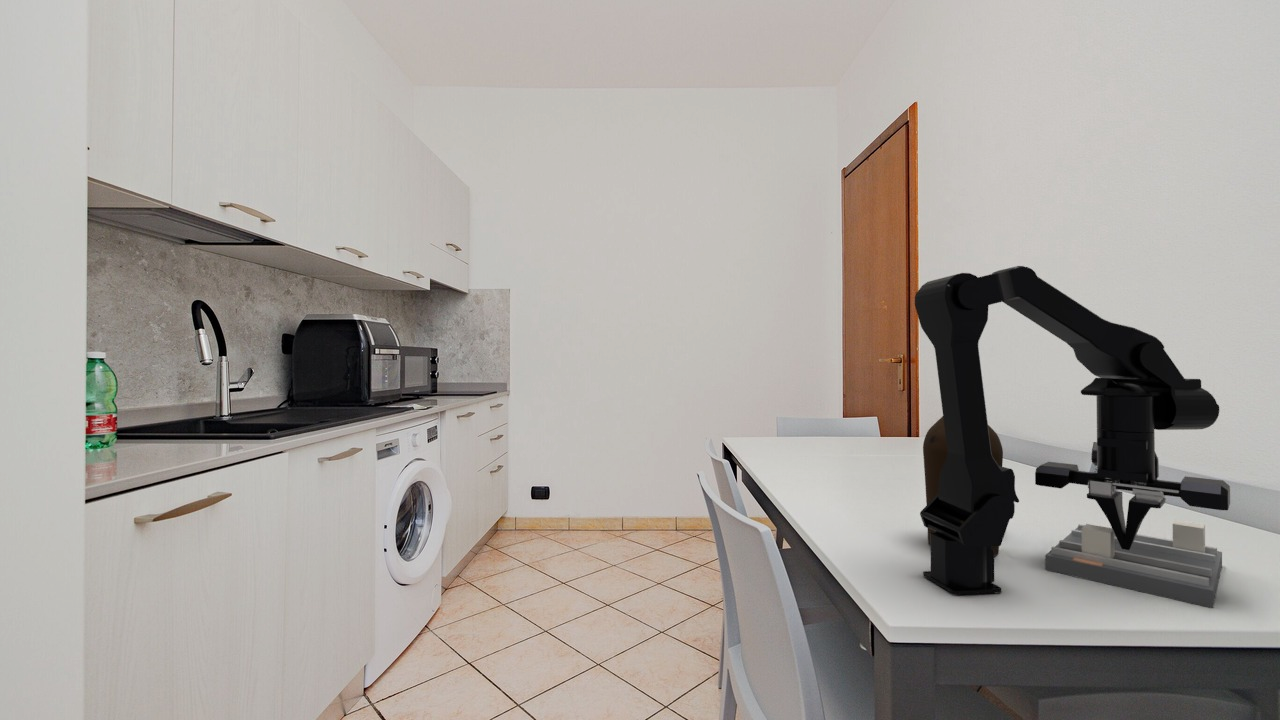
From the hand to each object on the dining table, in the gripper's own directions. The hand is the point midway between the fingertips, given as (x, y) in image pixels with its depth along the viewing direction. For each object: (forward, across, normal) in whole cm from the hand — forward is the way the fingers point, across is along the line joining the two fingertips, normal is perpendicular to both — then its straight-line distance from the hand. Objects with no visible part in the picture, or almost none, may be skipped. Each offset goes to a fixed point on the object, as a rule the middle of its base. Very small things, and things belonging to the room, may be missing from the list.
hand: (1126, 549), depth 72 cm
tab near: (+2, +3, 0) cm, 3 cm away
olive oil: (+4, +19, +3) cm, 19 cm away
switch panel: (+4, 0, -6) cm, 7 cm away
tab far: (+2, -5, -12) cm, 13 cm away
